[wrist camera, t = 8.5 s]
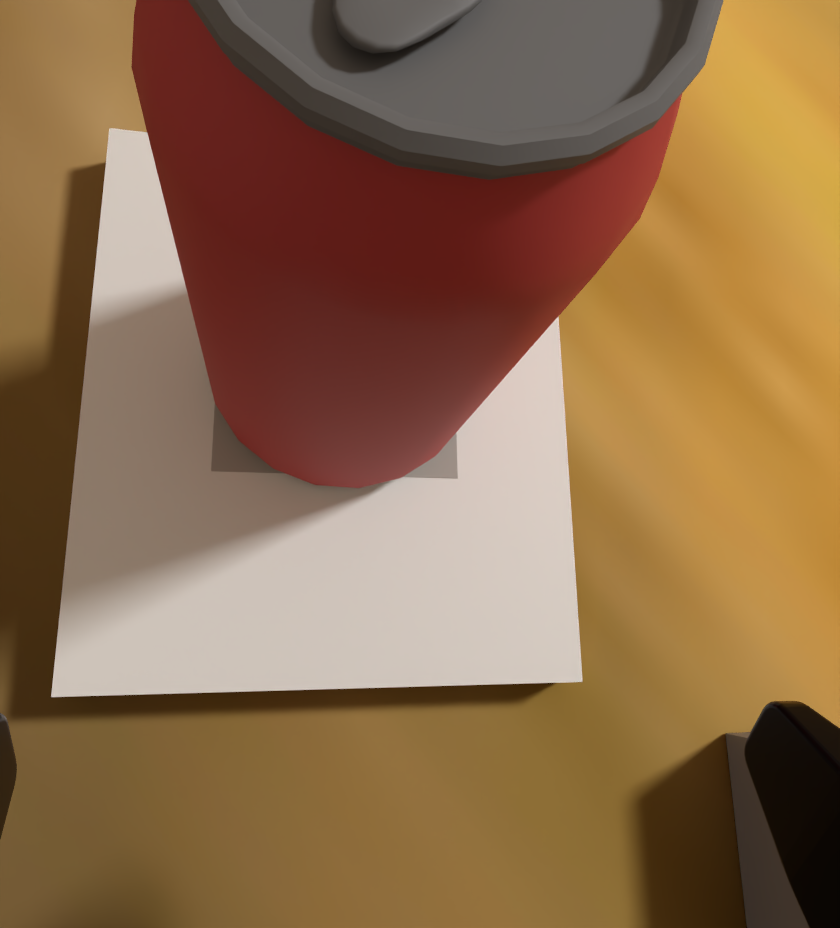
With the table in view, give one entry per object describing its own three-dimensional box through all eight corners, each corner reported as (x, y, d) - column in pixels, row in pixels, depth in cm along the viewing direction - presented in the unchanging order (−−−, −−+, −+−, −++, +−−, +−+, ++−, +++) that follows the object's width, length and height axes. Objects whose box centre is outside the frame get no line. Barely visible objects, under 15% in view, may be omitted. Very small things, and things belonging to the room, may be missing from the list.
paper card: (563, 679, 19) (582, 681, 17) (66, 693, 16) (50, 697, 15) (534, 203, 22) (549, 178, 21) (119, 158, 20) (109, 127, 18)
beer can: (152, 404, 17) (-101, -89, 5) (297, 204, 19) (334, -463, 7) (391, 544, 17) (623, 354, 6) (509, 333, 19) (854, -116, 8)
